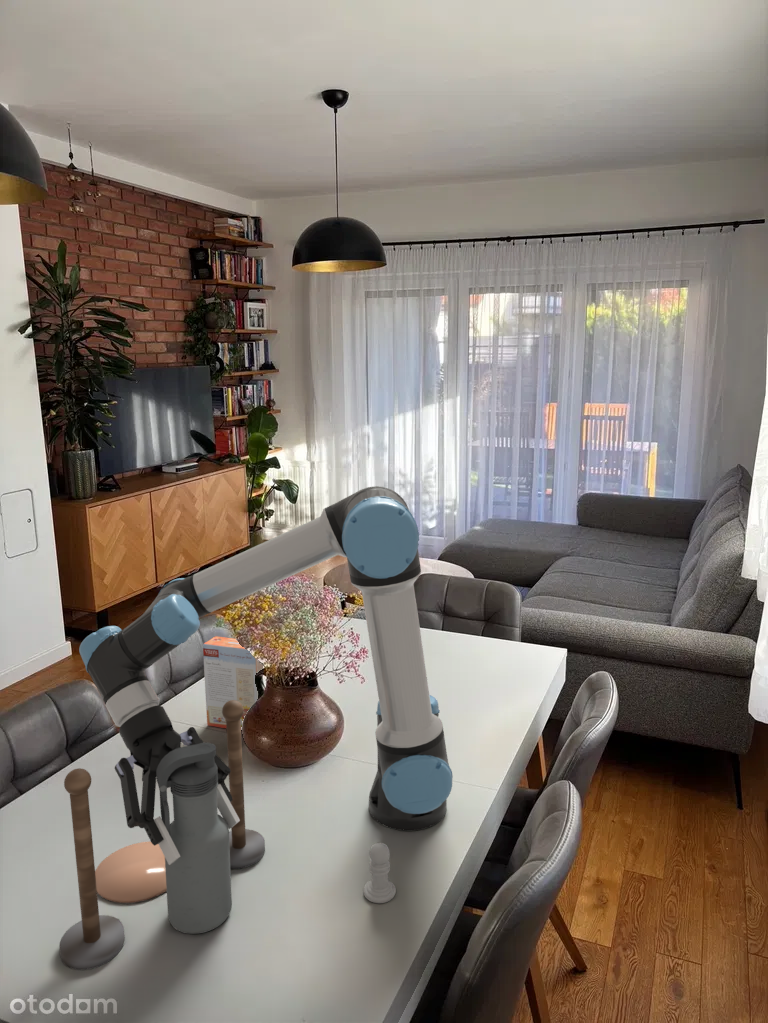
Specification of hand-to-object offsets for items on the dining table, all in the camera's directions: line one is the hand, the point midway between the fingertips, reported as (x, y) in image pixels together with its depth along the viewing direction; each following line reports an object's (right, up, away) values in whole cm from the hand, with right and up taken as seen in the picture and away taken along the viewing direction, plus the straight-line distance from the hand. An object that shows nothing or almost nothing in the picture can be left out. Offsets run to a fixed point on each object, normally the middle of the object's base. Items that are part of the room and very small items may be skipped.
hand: (205, 842), depth 114 cm
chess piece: (+26, -13, +9) cm, 31 cm away
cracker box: (-8, -1, +66) cm, 67 cm away
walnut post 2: (+1, -10, +20) cm, 22 cm away
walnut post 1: (-16, -15, -2) cm, 22 cm away
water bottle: (-2, -14, +5) cm, 14 cm away
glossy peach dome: (-15, -11, +15) cm, 24 cm away
